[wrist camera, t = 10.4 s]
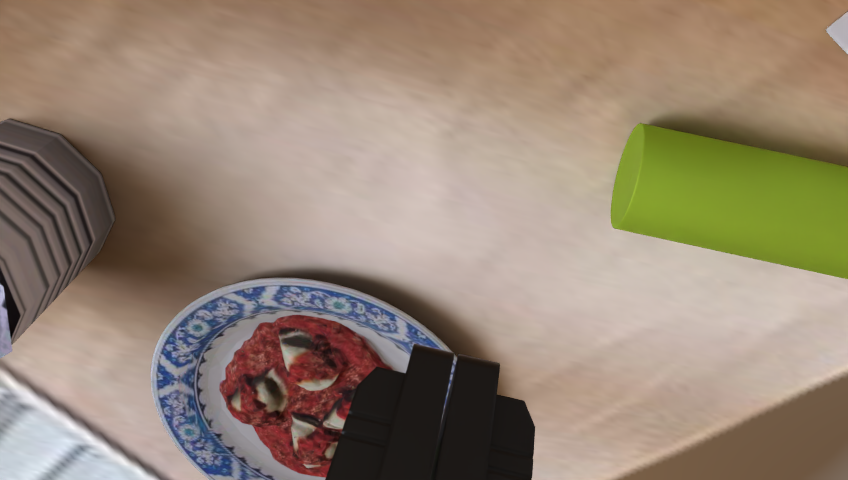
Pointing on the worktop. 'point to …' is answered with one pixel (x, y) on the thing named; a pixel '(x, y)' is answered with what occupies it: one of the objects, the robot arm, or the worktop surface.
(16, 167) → the can
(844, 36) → the milk
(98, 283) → the worktop surface
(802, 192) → the soap dispenser
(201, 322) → the ceramic plate
